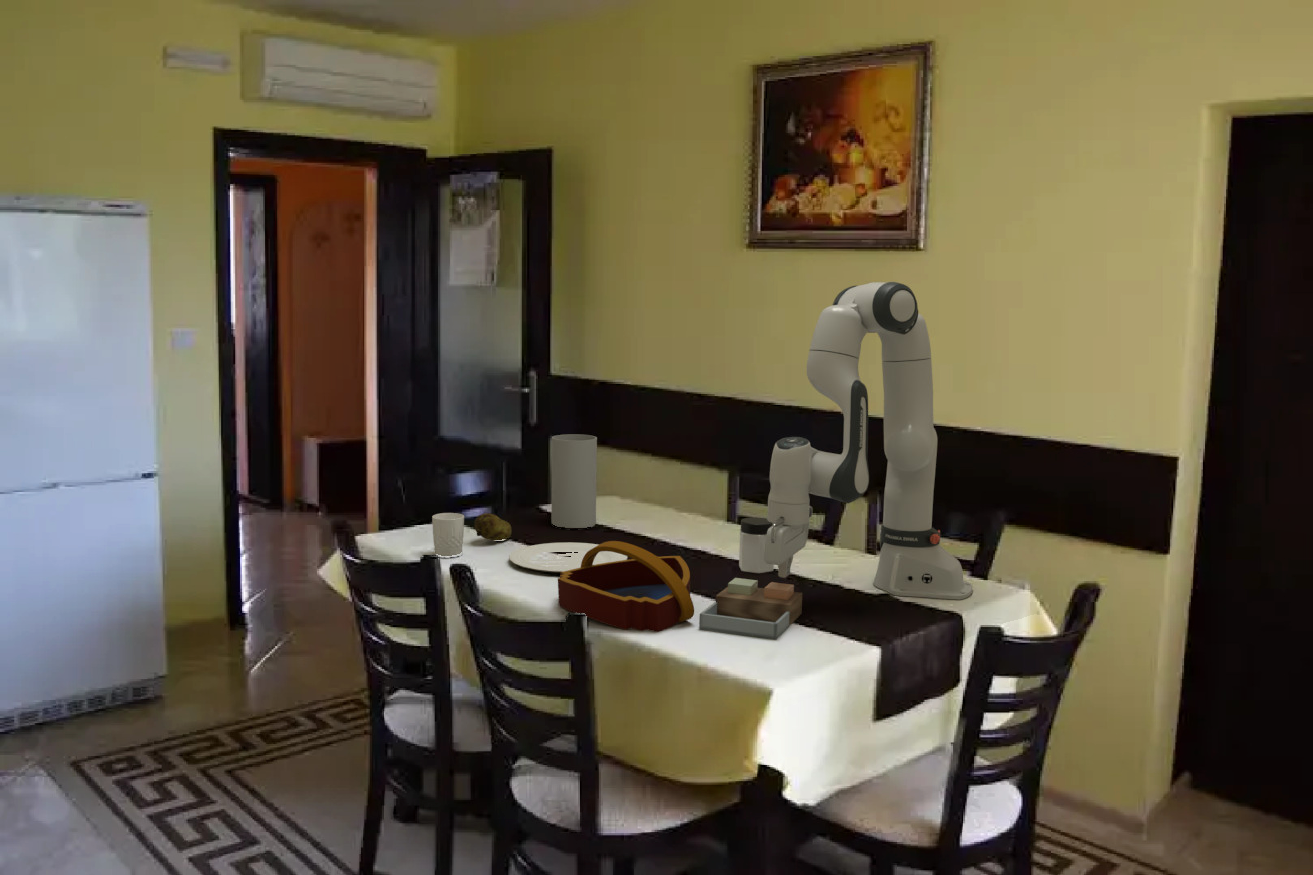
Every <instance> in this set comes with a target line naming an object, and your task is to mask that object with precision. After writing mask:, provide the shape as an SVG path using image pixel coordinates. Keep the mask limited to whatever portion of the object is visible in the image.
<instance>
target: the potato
mask: <svg viewBox="0 0 1313 875" xmlns="http://www.w3.org/2000/svg"><path fill="white" fill-rule="evenodd" d="M474 529H475V530H474V531H475V532H476V536H477V537H481V538H484V539H486V540H489V541H492V540H502V539H507V538H508V539H509V538H510V537H511V535H512V526H511V524H510V522H508V521H506V520H504V519H501V518H500V517H499V516H497V515H496V514H494V513H487V512H485V513H482V514H480V515H478V516H476V517H475V520H474ZM508 539H507V540H508Z"/></svg>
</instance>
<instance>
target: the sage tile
mask: <svg viewBox="0 0 1313 875" xmlns="http://www.w3.org/2000/svg"><path fill="white" fill-rule="evenodd" d="M758 583H759V581H758V579H756V580H755V579H751V578H750V579H747V578H740V577H734V578H733V579H732V580H730V581H729V582H728V583H727V587H728V593H736V594H744V595H751V594H753V593H754V592H755V591H756V590H757V588H759V586H758V585H759V584H758Z"/></svg>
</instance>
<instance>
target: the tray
mask: <svg viewBox="0 0 1313 875" xmlns="http://www.w3.org/2000/svg"><path fill="white" fill-rule="evenodd" d="M698 620H699V621H698V622H699V623H698V625H699V626H698V629H699V630H702V631H711V632H716V633H717V632H718V633H725V634H733V635H740V636H747V637H753V638H762V639H767V640H775V641H777V640H778V639H779V638H780V637H781V636H782V635H783V633H785V631H787V630H788V628H789V627H790V626H789V612H786V613H785V614H783V615H782V616H781V617H780V618H779V619H778V620H777V621H776V622H770V621H762V620H754V619H747V618H739V617H732V616H724V615H717V602H716V601H714V602H713V603H712V604H710V605H709V606H707V607H706V608H705V609H704V610H703V611H701V612H700V613H699V619H698Z"/></svg>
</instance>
